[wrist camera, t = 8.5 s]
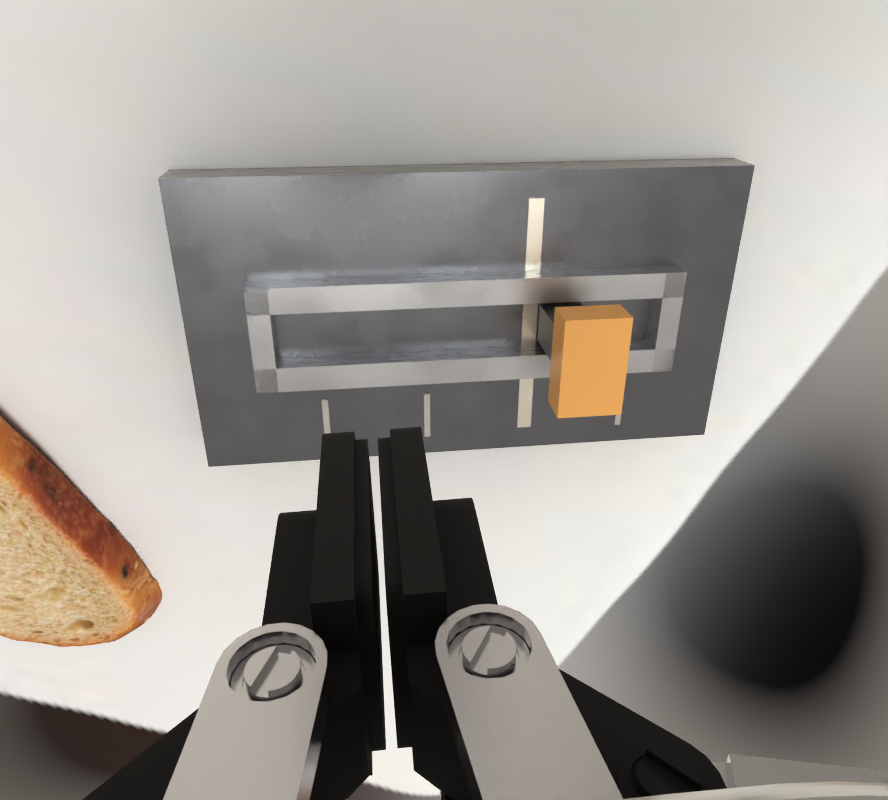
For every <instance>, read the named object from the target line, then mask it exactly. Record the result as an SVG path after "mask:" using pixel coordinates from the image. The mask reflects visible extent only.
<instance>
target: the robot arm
mask: <svg viewBox="0 0 888 800" xmlns="http://www.w3.org/2000/svg"><path fill="white" fill-rule="evenodd" d="M378 454H379V473H380V492H381V511H382V530H383V549H384V567H385V586H386V602H387V616H388V629H389V642H390V655H391V668H392V681H393V694H394V707H395V720H396V733H397V746H398V748H405V747H412V751H413V764H414V770H415V771H416V772H417V773H418V774H420V775H421V776H422V777H424V778H425V779H426V780H428V781H429V782H430V783H431V784H433V785H434V786H435V787H437V788H438V789H439V790H440V797H441V800H888V773H886V772H882V771H879V770H872V769H862V768H854V767H845V766H844V767H843V766H835V765H826V764H817V763H807V762H798V761H788V760H779V759H770V758H760V757H751V756H741V755H733V754H729V755H728V759H727V763H726V762H717V761H710V760H709V759H708V758H707V757H706V756H705V755H704V754H703V753H701V752H700V751H699V750H697V749H696V748H695V747H693V746H692V745H691V744H689V743H687V742H685V741H684V740H682V739H680V738H679V737H677V736H675V735H673V734H672V733H670V732H668V731H666V730H664V729H663V728H661V727H659V726H658V725H656V724H654V723H652V722H651V721H649V720H647V719H645V718H644V717H642V716H640V715H638V714H636V713H635V712H633V711H631V710H630V709H628V708H626V707H624V706H623V705H621V704H619V703H617V702H616V701H614V700H612V699H610V698H609V697H607V696H605V695H604V694H602V693H600V692H598V691H596V690H595V689H593V688H591V687H590V686H588V685H586V684H584V683H582V682H581V681H579V680H577V679H576V678H574V677H572V676H570V675H569V674H567V673H565V672H563V671H562V670H560V669H558V667H557V665H556V663H555V661H554V659H553V657H552V655H551V653H550V651H549V649H548V647H547V645H546V643H545V641H544V639H543V637H542V635H541V633H540V631H539V630H538V629H537V627H536V626H535V624H534V623H533V622H532V621H531V620H530V619H529V618H527V617H526V616H525V615H523V614H522V613H521V612H519V611H516V610H514V609H511V608H509V607H506V606H501V605H498V603H497V599H496V595H495V591H494V587H493V582H492V578H491V574H490V570H489V565H488V561H487V557H486V553H485V549H484V544H483V540H482V536H481V532H480V527H479V523H478V519H477V515H476V510H475V506H474V503H473V500H472V498H463V499H450V500H438V501H433V500H432V494H431V488H430V481H429V475H428V468H427V462H426V455H425V449H424V443H423V436H422V430H421V427H409V428H395V429H390V437H386V438H378ZM378 750H386V739H385V715H384V691H383V667H382V643H381V620H380V596H379V574H378V559H377V547H376V535H375V522H374V510H373V498H372V486H371V473H370V461H369V449H368V439H359V440H356V438H355V432H354V431H353V432H339V433H325V434H322V444H321V457H320V471H319V484H318V498H317V510H313V511H300V512H288V513H280V514H279V516H278V521H277V527H276V534H275V541H274V548H273V554H272V561H271V568H270V575H269V581H268V588H267V595H266V602H265V609H264V615H263V622H262V626H261V627H258V628H255V629H252V630H250V631H248V632H247V633H245V634H243V635H242V636H240V637H238V638H237V639H235V640H234V641H233V642H232V643H231V644H230V645H229V646H228V647H227V648H226V649H225V650H224V652H223V653H222V655H221V657H220V658H219V660H218V662H217V664H216V666H215V669H214V671H213V674H212V676H211V679H210V681H209V684H208V686H207V689H206V692H205V694H204V697H203V699H202V702H201V704H200V707H199V708H198V709H197V710H196V711H194V712H193V713H192V714H191V715H189V716H188V717H187V718H186V719H184V720H183V721H182V722H181V723H179V724H178V725H177V726H175V727H174V728H173V729H172V730H170V731H169V732H168V733H167V734H165V735H164V736H163V737H162V738H160V739H159V740H158V741H156V742H155V743H154V744H153V745H152V746H150V747H149V748H148V749H146V750H145V751H144V752H142V753H141V754H140V755H139V756H137V757H136V758H135V759H134V760H132V761H131V762H130V763H128V764H127V765H126V766H125V767H123V768H122V769H121V770H120V771H119V772H117V773H116V774H114V775H113V776H112V777H111V778H110V779H108V780H107V781H106V782H104V783H103V784H102V785H101V786H99V787H98V788H97V789H95V790H94V791H93V792H92V793H90V794H89V795H88V796H87V797H85V798H84V799H83V800H347V799H348V798H349V797H350V795H351V794H352V793H353V792H354V791H355V790H356V789H357V788H358V787H359V786H360V785H361V784H362V783H363V782H364V781H365V780H366V779H367V778H368V776H369V775H372V751H378Z"/></svg>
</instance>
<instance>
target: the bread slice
mask: <svg viewBox="0 0 888 800" xmlns="http://www.w3.org/2000/svg"><path fill="white" fill-rule="evenodd" d="M161 600H162V591H161V589H160V586H159V584H158V582H157V580H156V579H155V578H153V577H152V576H151V575H150V573H149V571H148V569H147V567H146V565H145V564H144V563H143V562H142V560H141V559H140V558H139V557H138V555H137V554H136V552H135V550H134V549H133V547H132V545H131V544H130V543H129V542H128V541H127V540H126V539H124V538H123V537H122V536H121V535H120V534H119V533H118V531H117V530H116V529H115V527H114V526H113V524H112V523H111V522H110V521H109V520H108V519H107V518H105V517H104V516H102V515H101V514H100V513H98V512H97V510H96V509H95V508H94V507H93V506H92V504H91V503H90V502H89V501H88V499H87V498H85V497H84V496H83V495H82V494H80V493H79V492H78V491H77V490H76V489H75V488H74V486H73V485H72V484H71V483H70V482H69V481H68V480H67V478H66V477H65V476H64V475H63V474H62V473H61V472H60V471H59V470H58V469H57V468H56V467H55V466H54V465H53V464H52V463H50V462H49V461H48V460H47V459H46V458H45V457H44V456H43V455H42V454H41V453H40V452H39V451H38V450H37V449H36V448H35V447H34V446H33V445H32V444H31V443H30V442H29V441H28V440H26V439H25V438H24V437H23V436H21V435H20V434H19V433H18V432H17V431H16V430H15V429H13V428H12V427H11V426H10V425H9V424H8V423H7V422H6V421H5V420H4V419H3V418H2V417H1V416H0V636H3V637H7V638H10V639H13V640H17V641H28V642H37V643H44V644H49V645H55V646H59V647H68V646H85V645H94V644H100V643H106V642H112V641H115V640H118V639H120V638H122V637H123V636H125V635H126V634H128V633H130V632H131V631H133V630H135V629H136V628H138V627H140V626H141V625H142V624H144V623H145V622H146V621H147V620H148V619H149V618H150V617H151V616H152V615H153V614H154V612H155V610H156V609H157V607H158V605H159V604H160V602H161Z"/></svg>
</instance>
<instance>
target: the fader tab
mask: <svg viewBox="0 0 888 800" xmlns="http://www.w3.org/2000/svg"><path fill="white" fill-rule="evenodd" d="M632 326H633V317H632V316H631V315H630V314H629V313H628V312H627V311H626V310H625V309H624V308H623V307H622V306H621V305H620V304H615V305H592V306H583V305H582V303H581V302H576V303H553V304H539V319H538V335H537V340H538V341H539V343H540V345H541V346H542V348H543V349H544V351H545V353H546V354H547V356H548V357H549V359H550V361H551V368H550V382H549V395H548V402H549V404H550V406H551V407H552V409H553V411H554V413H555V415H556V417H557V418H572V417H589V416H605V415H621V413H622V405H623V397H624V389H625V381H626V373H627V365H628V357H629V349H630V341H631V334H632Z"/></svg>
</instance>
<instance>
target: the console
mask: <svg viewBox="0 0 888 800" xmlns="http://www.w3.org/2000/svg"><path fill="white" fill-rule="evenodd" d="M754 166H755V165H752V164H749V163H746V162H743V161H740V160H737V159H734V158H722V159H675V160H628V161H580V162H533V163H486V164H438V165H391V166H344V167H297V168H249V169H202V170H168V171H167V172H166V173H165V174H163V175H162V176H161V177H160V178H159V185H160V190H161V196H162V202H163V208H164V213H165V219H166V225H167V231H168V236H169V242H170V248H171V253H172V259H173V265H174V271H175V276H176V282H177V288H178V294H179V299H180V305H181V311H182V317H183V322H184V328H185V334H186V340H187V345H188V351H189V357H190V363H191V368H192V374H193V380H194V386H195V391H196V397H197V403H198V409H199V414H200V420H201V426H202V432H203V437H204V443H205V449H206V455H207V460H208V466H209V467H210V466H226V465H241V464H257V463H272V462H287V461H303V460H318V459H320V457H321V444H322V434H325V433H339V432H353V431H354V432H355V438H356V440H359V439H368V449H369V456H379V454H378V438H386V437H390V429H395V428H409V427H421V430H422V436H423V443H424V449H425V453H426V452H442V451H457V450H472V449H488V448H503V447H519V446H534V445H549V444H565V443H580V442H596V441H611V440H627V439H642V438H657V437H673V436H688V435H704V432H705V427H706V422H707V416H708V411H709V406H710V400H711V395H712V390H713V384H714V379H715V374H716V368H717V363H718V358H719V352H720V347H721V342H722V336H723V331H724V326H725V320H726V315H727V310H728V304H729V299H730V294H731V288H732V283H733V278H734V272H735V267H736V262H737V256H738V251H739V246H740V240H741V235H742V230H743V224H744V219H745V214H746V208H747V203H748V198H749V192H750V187H751V182H752V176H753V171H754ZM576 302H581V303H582V305H583V306H592V305H615V304H620V305H621V306H622V307H623V308H624V309H625V310H626V311H627V312H628V313H629V314H630V315H631V316H632V317H633V326H632V334H631V341H630V349H629V357H628V365H627V373H626V381H625V389H624V397H623V405H622V413H621V415H605V416H589V417H572V418H557V417H556V415H555V413H554V411H553V409H552V407H551V406H550V404H549V402H548V395H549V382H550V368H551V361H550V359H549V357H548V356H547V354H546V353H545V351H544V349H543V348H542V346H541V345H540V343H539V341H538V340H537V335H538V319H539V304H553V303H576Z"/></svg>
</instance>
